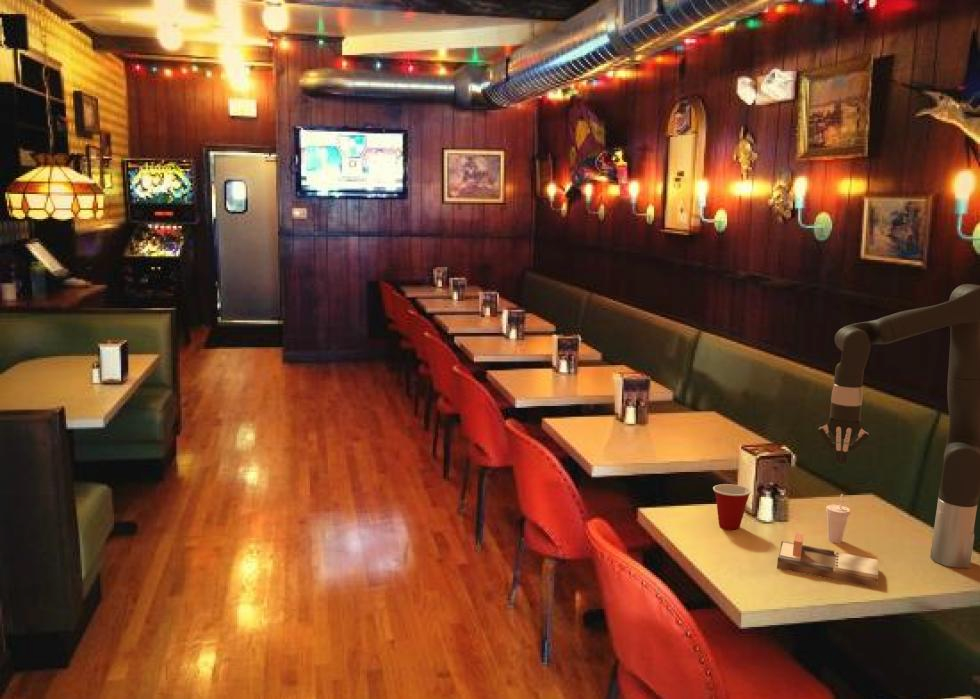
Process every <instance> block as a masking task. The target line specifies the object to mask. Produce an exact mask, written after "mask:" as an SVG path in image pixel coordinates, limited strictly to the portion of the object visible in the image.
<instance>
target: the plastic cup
mask: <svg viewBox="0 0 980 699" xmlns="http://www.w3.org/2000/svg"><path fill="white" fill-rule="evenodd" d="M712 489H713V491H714V495H715V499H716V509H717V516H718V526H719V527H720V528H721V529H723V530H727V531H738V530H739V529H740V526H741V524H742V520H743V518H744V514H745V509H746V506H747V503H748V501H749V500H748V499H749V497H750V494H751V493H752V489H751V488H749V487H746V486H744V485H739V484H730V483H729V484H728V483H723V484H717V485H714V486H713V487H712Z"/></svg>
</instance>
